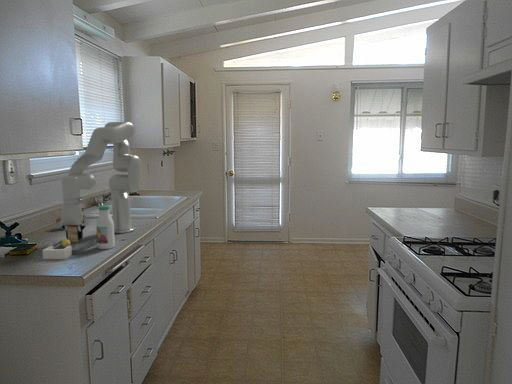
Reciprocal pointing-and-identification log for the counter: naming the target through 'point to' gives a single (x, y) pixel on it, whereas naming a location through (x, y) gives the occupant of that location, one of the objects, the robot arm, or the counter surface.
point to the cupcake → (59, 221)
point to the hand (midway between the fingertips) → (74, 238)
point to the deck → (78, 249)
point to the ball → (66, 243)
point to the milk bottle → (105, 229)
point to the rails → (61, 244)
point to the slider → (73, 233)
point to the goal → (57, 253)
